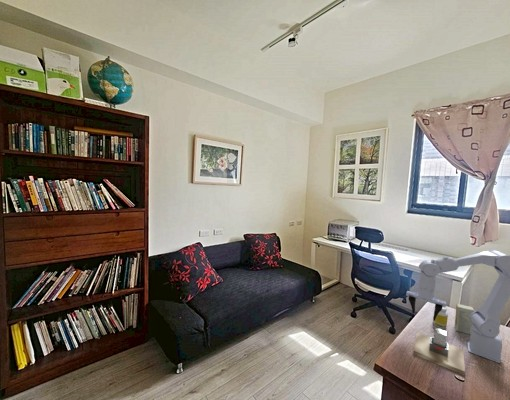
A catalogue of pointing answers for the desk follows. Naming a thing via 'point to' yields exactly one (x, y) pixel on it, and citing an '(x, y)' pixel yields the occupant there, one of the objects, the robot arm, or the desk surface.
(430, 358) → the stand base
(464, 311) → the skincare box
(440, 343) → the column
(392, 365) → the desk surface
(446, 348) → the sleeve
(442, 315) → the supplement bottle
